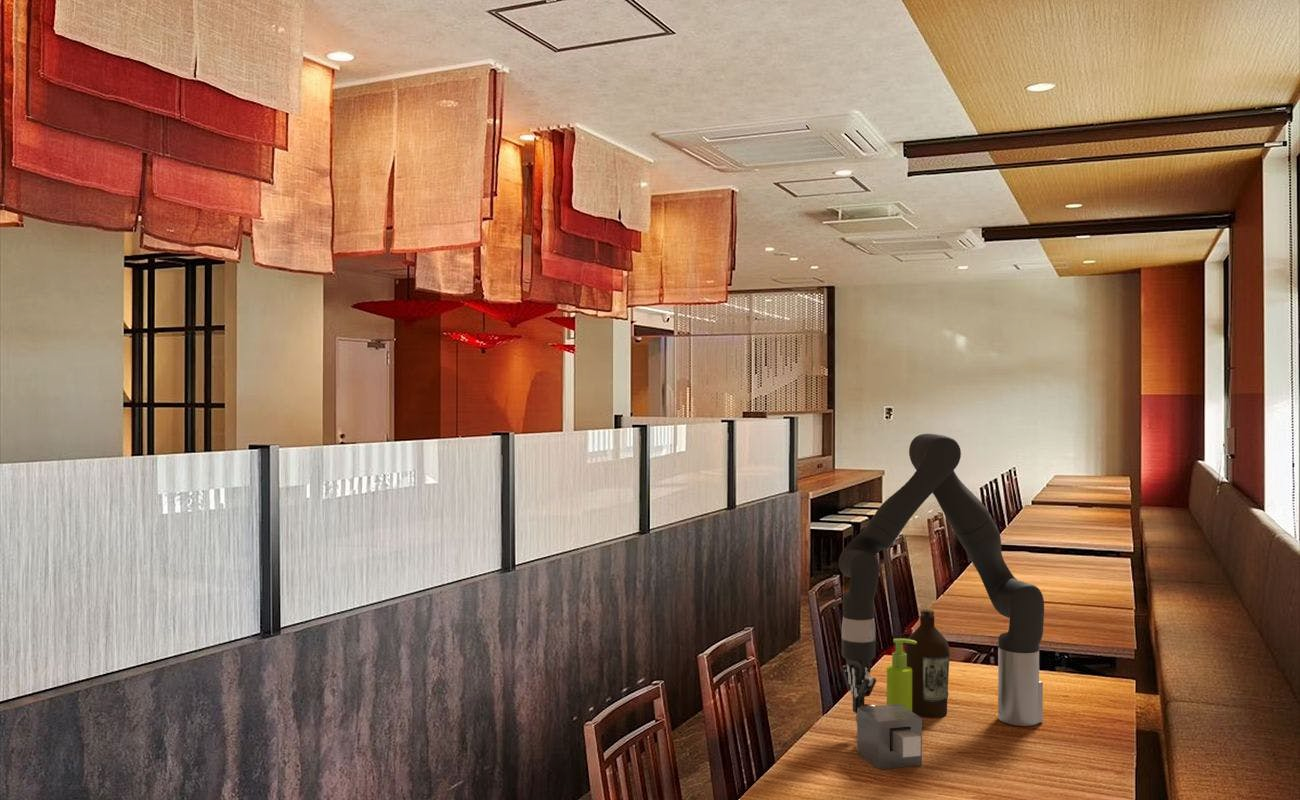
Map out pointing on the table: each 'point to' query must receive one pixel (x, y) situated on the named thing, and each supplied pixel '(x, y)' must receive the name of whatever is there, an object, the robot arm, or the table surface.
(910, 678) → the soap dispenser
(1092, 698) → the table surface
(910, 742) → the shaft
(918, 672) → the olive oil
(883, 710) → the grey box with hole
